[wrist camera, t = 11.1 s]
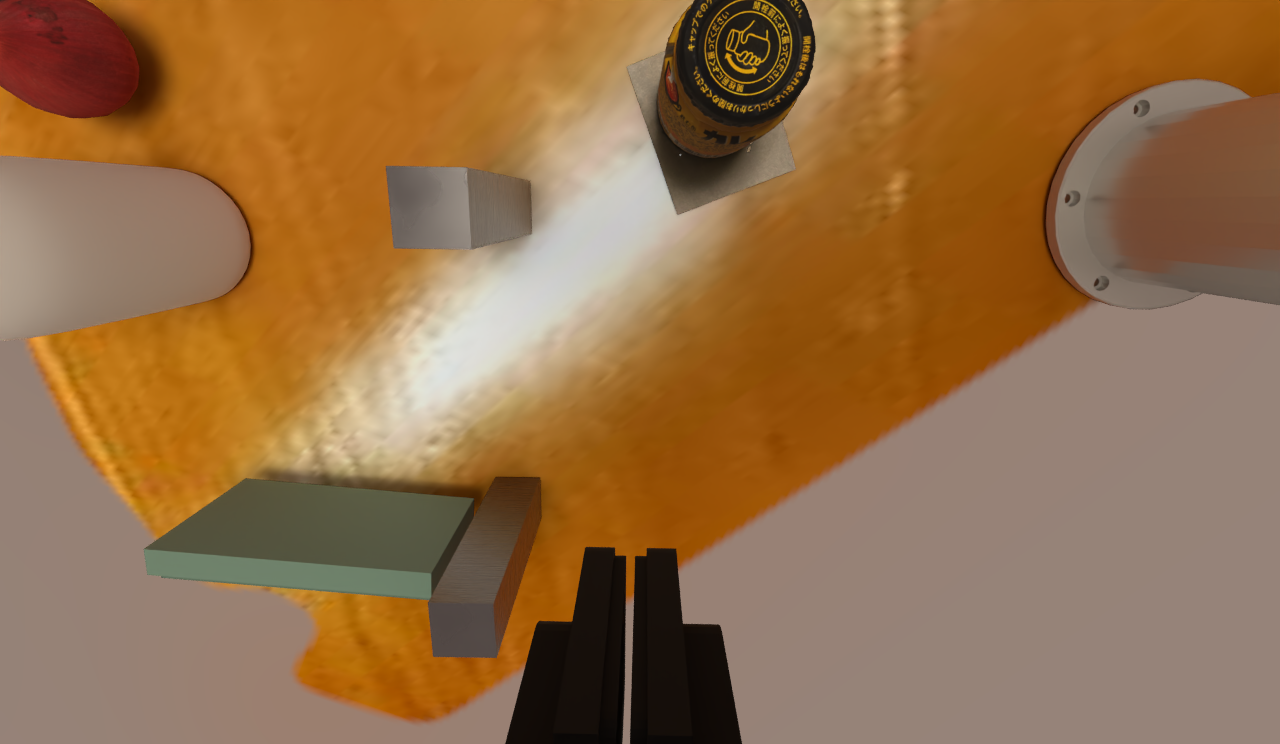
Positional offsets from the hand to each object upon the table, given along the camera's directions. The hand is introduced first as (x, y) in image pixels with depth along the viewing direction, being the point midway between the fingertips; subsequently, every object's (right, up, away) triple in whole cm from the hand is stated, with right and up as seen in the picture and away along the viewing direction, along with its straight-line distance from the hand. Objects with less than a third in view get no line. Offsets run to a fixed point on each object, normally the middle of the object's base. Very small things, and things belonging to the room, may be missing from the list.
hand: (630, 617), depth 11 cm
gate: (-18, -4, +27) cm, 33 cm away
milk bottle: (-27, +13, +25) cm, 39 cm away
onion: (-29, +21, +22) cm, 42 cm away
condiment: (+4, +19, +23) cm, 30 cm away
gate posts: (-8, +6, +26) cm, 28 cm away
